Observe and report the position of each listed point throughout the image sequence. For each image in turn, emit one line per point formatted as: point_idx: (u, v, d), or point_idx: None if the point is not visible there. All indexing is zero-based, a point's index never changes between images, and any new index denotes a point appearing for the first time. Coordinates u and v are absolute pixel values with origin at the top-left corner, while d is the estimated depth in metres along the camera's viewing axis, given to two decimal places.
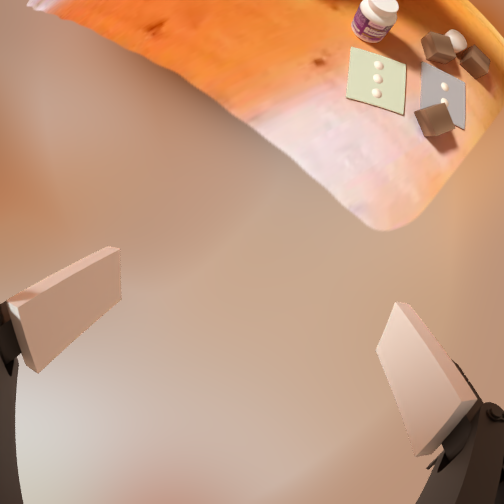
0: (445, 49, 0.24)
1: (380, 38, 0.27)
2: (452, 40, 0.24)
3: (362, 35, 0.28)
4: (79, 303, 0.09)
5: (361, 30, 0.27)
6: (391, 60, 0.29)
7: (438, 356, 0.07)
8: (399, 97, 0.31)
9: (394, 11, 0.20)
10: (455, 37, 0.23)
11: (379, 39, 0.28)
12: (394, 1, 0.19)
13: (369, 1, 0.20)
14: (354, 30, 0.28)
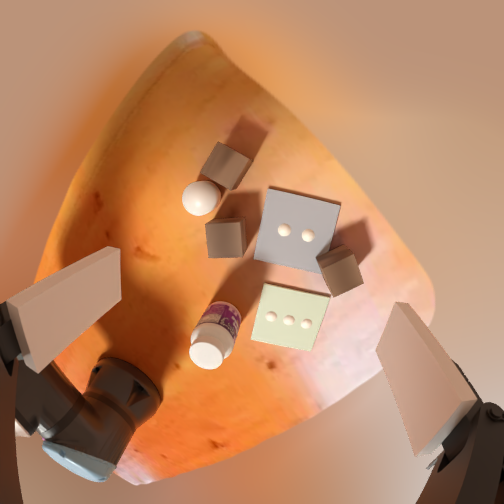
0: (232, 240, 0.31)
1: (237, 316, 0.36)
2: (206, 211, 0.31)
3: None
4: (78, 303, 0.09)
5: None
6: (261, 301, 0.36)
7: (438, 356, 0.07)
8: (309, 300, 0.36)
9: (218, 350, 0.29)
10: (198, 204, 0.31)
11: (237, 315, 0.36)
12: (200, 345, 0.29)
13: None
14: None
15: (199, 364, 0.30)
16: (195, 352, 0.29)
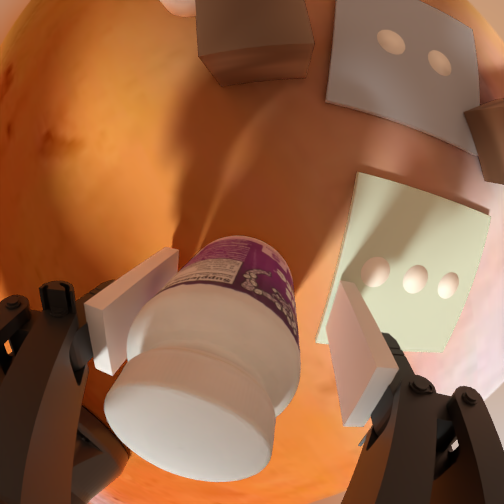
0: (278, 3, 0.07)
1: (288, 275, 0.12)
2: None
3: None
4: None
5: None
6: (354, 226, 0.12)
7: (365, 326, 0.09)
8: (460, 220, 0.11)
9: (250, 427, 0.04)
10: None
11: (288, 273, 0.12)
12: (144, 400, 0.04)
13: None
14: None
15: (161, 465, 0.05)
16: (131, 427, 0.05)
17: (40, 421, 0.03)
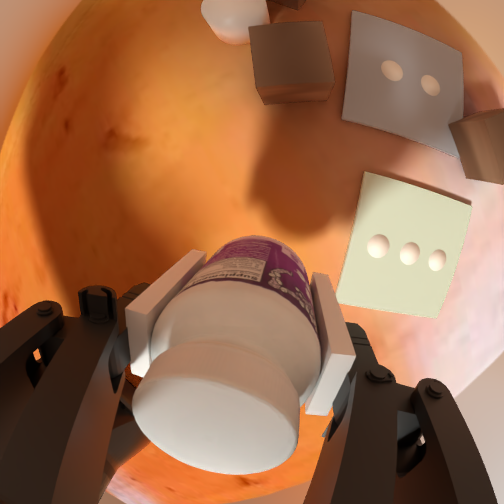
0: (310, 49, 0.11)
1: (305, 275, 0.12)
2: (248, 18, 0.11)
3: None
4: None
5: None
6: (361, 210, 0.16)
7: (329, 315, 0.09)
8: (445, 209, 0.15)
9: (282, 417, 0.05)
10: (231, 10, 0.11)
11: (305, 273, 0.12)
12: (178, 393, 0.05)
13: None
14: None
15: (184, 458, 0.06)
16: (160, 419, 0.05)
17: (75, 434, 0.03)
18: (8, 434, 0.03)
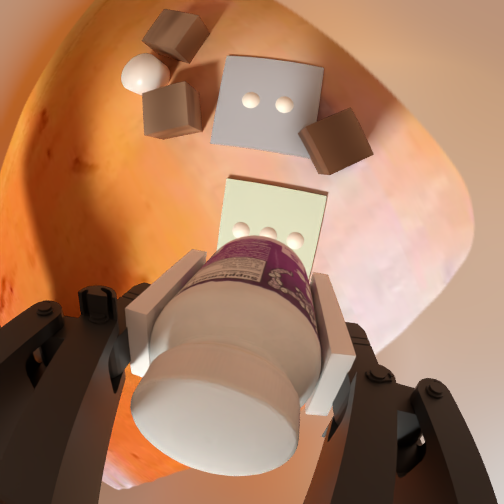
0: (175, 104, 0.19)
1: (305, 275, 0.12)
2: (146, 83, 0.20)
3: None
4: None
5: None
6: (225, 206, 0.25)
7: (329, 315, 0.09)
8: (296, 200, 0.24)
9: (282, 419, 0.05)
10: (138, 77, 0.20)
11: (305, 273, 0.12)
12: (177, 394, 0.05)
13: None
14: None
15: (183, 460, 0.05)
16: (159, 421, 0.05)
17: (75, 434, 0.03)
18: (8, 434, 0.03)
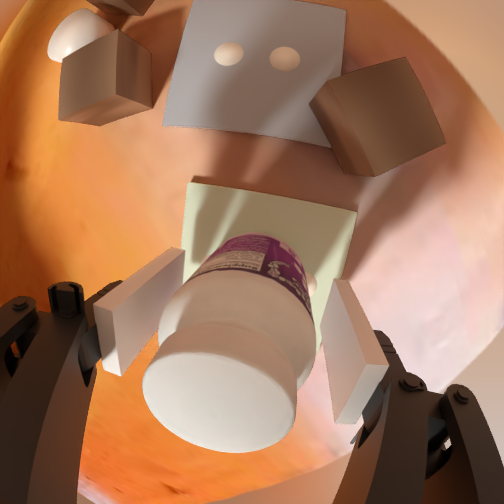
0: (100, 66, 0.09)
1: (302, 269, 0.13)
2: (74, 46, 0.10)
3: None
4: (155, 303, 0.10)
5: None
6: (187, 228, 0.15)
7: (357, 323, 0.09)
8: (306, 218, 0.14)
9: (280, 390, 0.05)
10: (65, 41, 0.10)
11: (302, 267, 0.13)
12: (187, 368, 0.05)
13: None
14: None
15: (189, 437, 0.06)
16: (168, 397, 0.06)
17: (48, 424, 0.03)
18: None
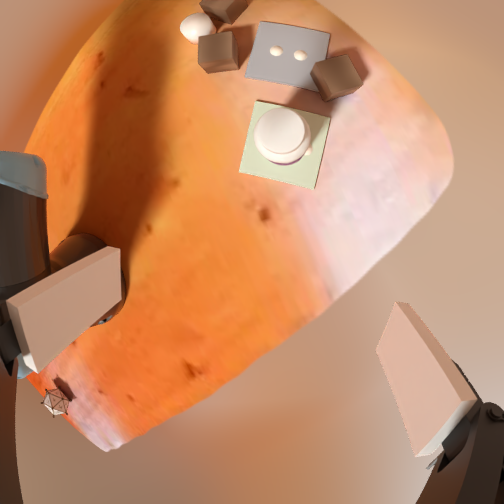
0: (223, 45, 0.24)
1: None
2: (200, 32, 0.25)
3: None
4: (79, 303, 0.09)
5: (299, 159, 0.28)
6: (253, 120, 0.30)
7: (438, 356, 0.07)
8: (307, 118, 0.29)
9: (300, 119, 0.20)
10: (194, 27, 0.25)
11: None
12: (275, 112, 0.20)
13: (281, 153, 0.22)
14: (291, 164, 0.30)
15: (269, 144, 0.21)
16: (267, 124, 0.21)
17: None
18: None
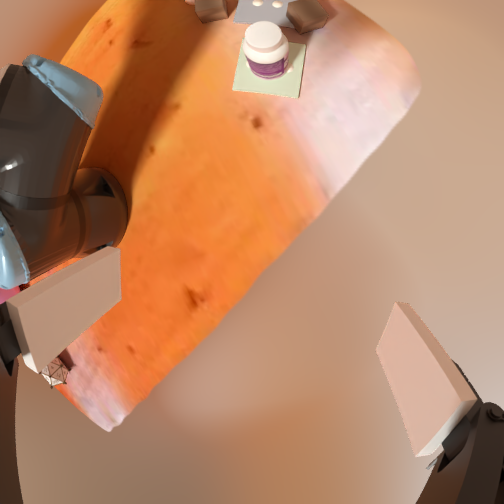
0: None
1: None
2: None
3: (285, 70, 0.30)
4: (78, 303, 0.09)
5: (282, 69, 0.29)
6: (242, 51, 0.31)
7: (438, 356, 0.07)
8: None
9: (277, 26, 0.21)
10: None
11: None
12: (258, 24, 0.22)
13: (265, 50, 0.23)
14: (276, 77, 0.31)
15: (255, 43, 0.22)
16: (252, 31, 0.22)
17: None
18: None
